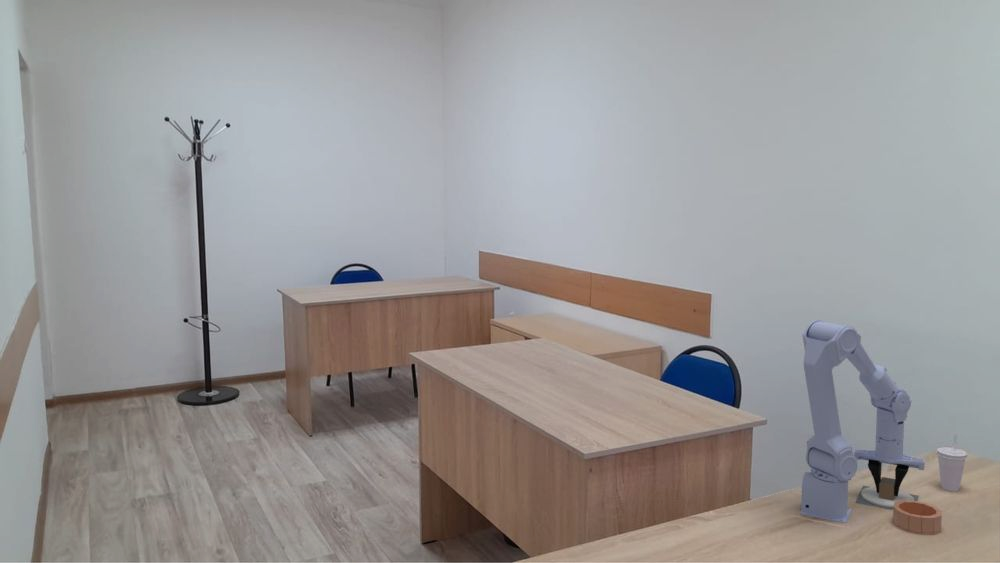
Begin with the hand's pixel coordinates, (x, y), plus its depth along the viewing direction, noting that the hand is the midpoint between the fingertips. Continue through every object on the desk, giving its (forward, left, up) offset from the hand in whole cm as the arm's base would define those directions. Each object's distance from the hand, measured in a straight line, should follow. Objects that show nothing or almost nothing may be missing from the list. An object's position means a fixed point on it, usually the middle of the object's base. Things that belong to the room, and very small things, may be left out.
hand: (887, 493), depth 172 cm
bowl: (+7, -12, -2) cm, 14 cm away
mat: (0, 0, -2) cm, 2 cm away
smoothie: (+12, +15, -2) cm, 19 cm away
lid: (0, 0, -1) cm, 1 cm away
